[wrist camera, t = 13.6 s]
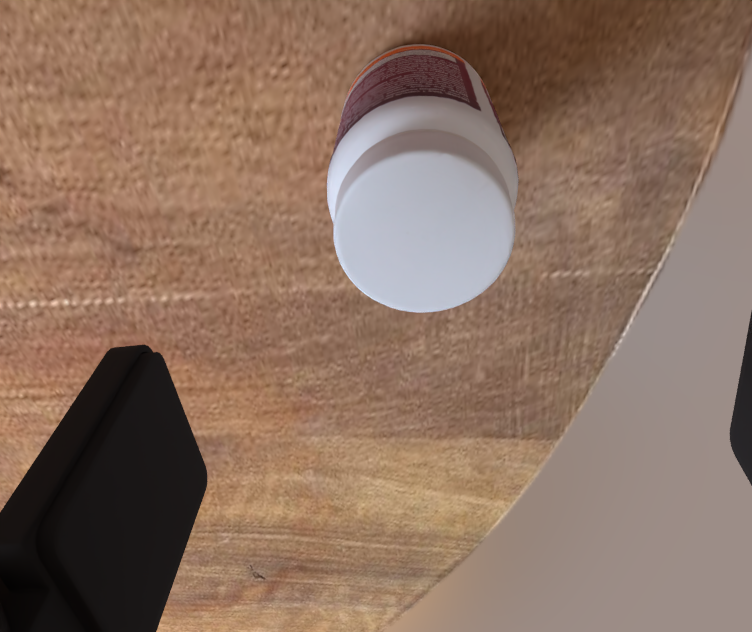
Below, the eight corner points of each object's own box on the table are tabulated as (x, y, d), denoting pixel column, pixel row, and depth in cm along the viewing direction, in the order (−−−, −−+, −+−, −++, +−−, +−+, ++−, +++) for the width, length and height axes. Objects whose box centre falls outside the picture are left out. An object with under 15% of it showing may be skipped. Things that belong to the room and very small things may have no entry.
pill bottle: (313, 127, 22) (271, 248, 15) (410, 6, 20) (414, 80, 13) (422, 214, 23) (429, 361, 16) (522, 111, 21) (580, 228, 14)
